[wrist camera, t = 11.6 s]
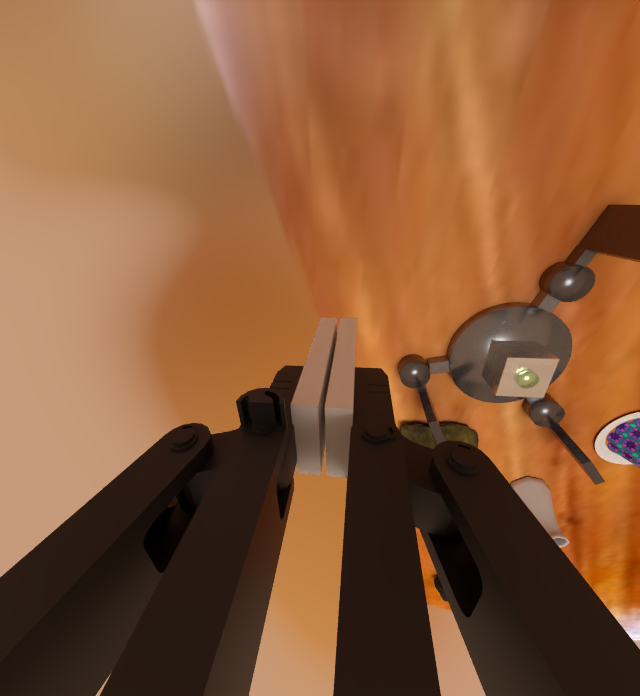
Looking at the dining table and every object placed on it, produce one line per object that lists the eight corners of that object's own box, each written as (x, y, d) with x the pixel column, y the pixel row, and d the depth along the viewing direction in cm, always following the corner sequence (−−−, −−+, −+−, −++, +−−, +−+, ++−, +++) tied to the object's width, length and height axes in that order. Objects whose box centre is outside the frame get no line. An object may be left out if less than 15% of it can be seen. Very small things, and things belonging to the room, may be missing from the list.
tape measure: (431, 572, 73) (435, 590, 70) (459, 570, 71) (463, 588, 68) (438, 585, 76) (442, 603, 72) (465, 584, 74) (470, 602, 70)
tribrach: (452, 209, 35) (479, 211, 27) (681, 202, 32) (789, 202, 24) (415, 429, 51) (425, 470, 44) (563, 439, 48) (602, 485, 40)
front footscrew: (394, 360, 45) (401, 393, 38) (420, 350, 44) (433, 383, 36) (417, 410, 49) (428, 449, 42) (442, 402, 48) (458, 442, 40)
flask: (556, 486, 54) (594, 541, 45) (526, 504, 57) (556, 559, 48) (526, 470, 53) (559, 524, 44) (497, 490, 56) (523, 543, 47)
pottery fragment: (464, 473, 56) (472, 492, 52) (390, 466, 57) (393, 485, 54) (481, 420, 49) (492, 438, 45) (398, 414, 51) (401, 431, 47)
